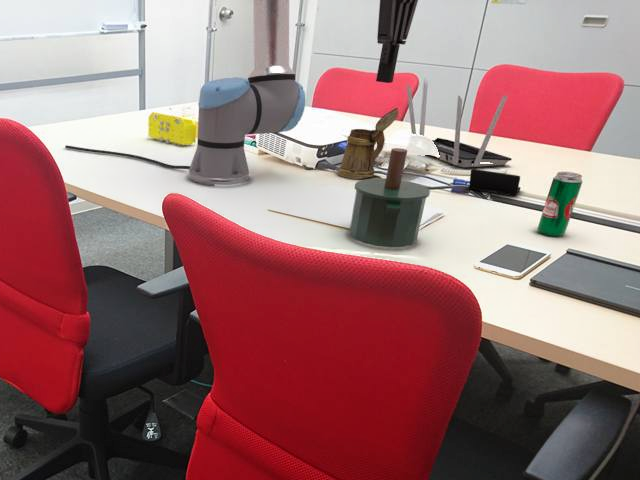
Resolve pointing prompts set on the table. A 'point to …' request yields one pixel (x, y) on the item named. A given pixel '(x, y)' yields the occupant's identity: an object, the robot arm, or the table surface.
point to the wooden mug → (365, 149)
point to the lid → (393, 182)
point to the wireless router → (456, 150)
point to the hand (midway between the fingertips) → (384, 81)
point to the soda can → (560, 204)
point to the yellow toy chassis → (171, 129)
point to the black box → (494, 182)
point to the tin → (385, 221)
